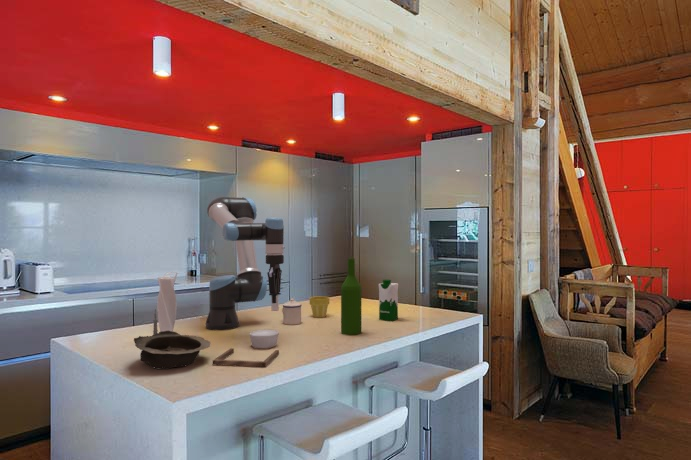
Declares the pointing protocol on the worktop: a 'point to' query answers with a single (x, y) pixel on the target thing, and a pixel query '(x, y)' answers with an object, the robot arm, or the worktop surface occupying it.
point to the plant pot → (319, 305)
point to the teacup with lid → (291, 312)
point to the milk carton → (388, 301)
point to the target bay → (264, 363)
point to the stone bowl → (170, 349)
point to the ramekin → (264, 338)
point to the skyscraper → (166, 304)
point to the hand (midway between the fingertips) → (275, 310)
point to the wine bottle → (351, 302)
